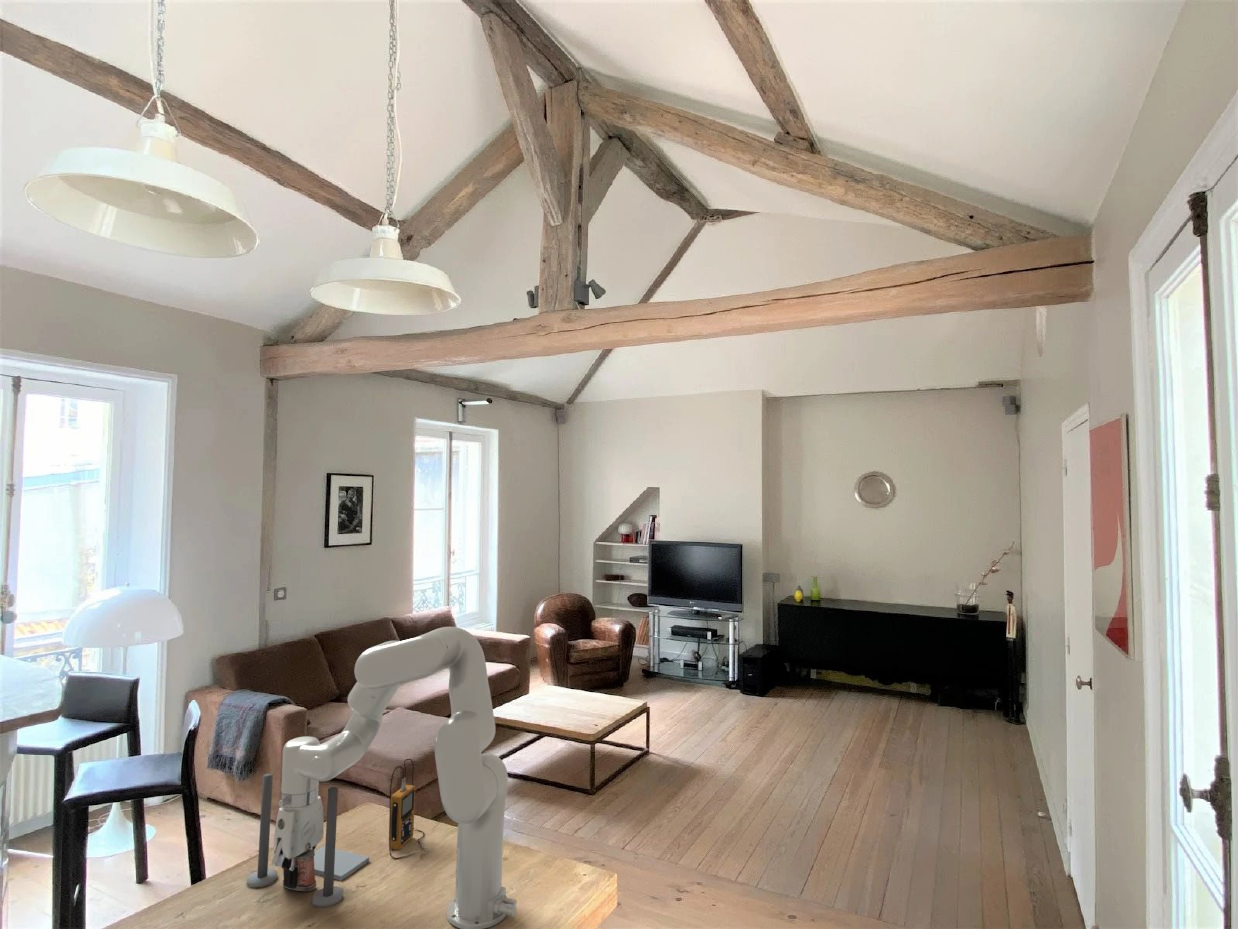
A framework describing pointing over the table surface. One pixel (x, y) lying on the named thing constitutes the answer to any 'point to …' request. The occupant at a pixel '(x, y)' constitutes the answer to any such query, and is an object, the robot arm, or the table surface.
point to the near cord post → (329, 857)
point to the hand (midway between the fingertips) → (296, 882)
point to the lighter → (305, 870)
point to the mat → (339, 863)
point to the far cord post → (264, 839)
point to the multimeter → (402, 815)
